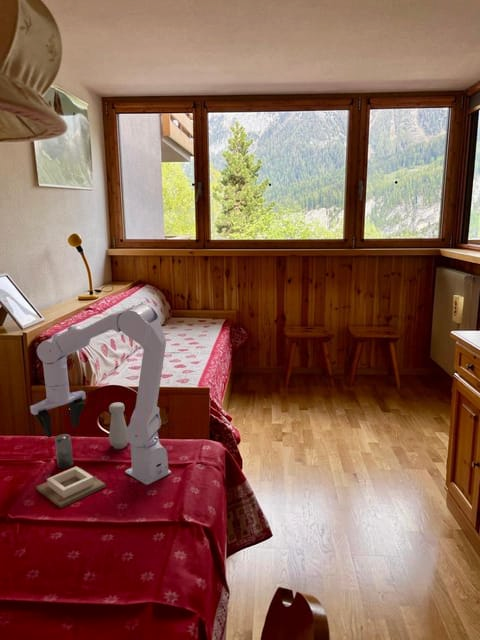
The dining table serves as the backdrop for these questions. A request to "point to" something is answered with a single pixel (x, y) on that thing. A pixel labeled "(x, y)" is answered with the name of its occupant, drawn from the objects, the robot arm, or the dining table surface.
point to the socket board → (70, 486)
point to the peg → (64, 450)
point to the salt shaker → (117, 426)
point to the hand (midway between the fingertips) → (61, 431)
